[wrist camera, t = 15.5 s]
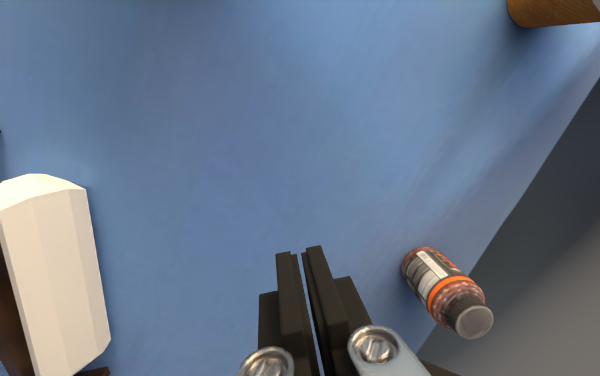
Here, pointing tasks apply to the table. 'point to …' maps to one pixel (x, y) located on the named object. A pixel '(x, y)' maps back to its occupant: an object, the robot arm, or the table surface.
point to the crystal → (53, 272)
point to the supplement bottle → (447, 293)
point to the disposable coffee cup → (553, 12)
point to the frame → (18, 332)
